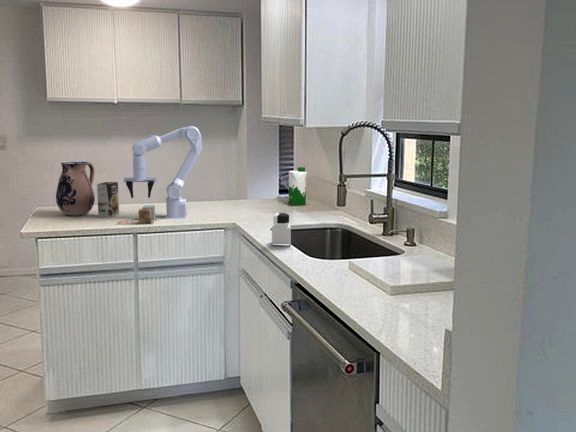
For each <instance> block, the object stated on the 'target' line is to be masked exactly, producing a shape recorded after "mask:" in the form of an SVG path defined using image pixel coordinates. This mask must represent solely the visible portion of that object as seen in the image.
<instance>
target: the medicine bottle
mask: <svg viewBox="0 0 576 432" xmlns="http://www.w3.org/2000/svg"><path fill="white" fill-rule="evenodd" d="M291 239H292V229H291V224H290V215H289V214H288V213H286V212H277V213H274V214H273V223H272V224H271V245H272V244H289V245H292V241H291Z"/></svg>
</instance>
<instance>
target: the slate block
mask: <svg viewBox="0 0 576 432" xmlns="http://www.w3.org/2000/svg"><path fill="white" fill-rule="evenodd" d="M141 209H151V211H152V220H154V219H155V218H156V205H152V204H151V205H150V204H149V205H143V206H142V208H141Z"/></svg>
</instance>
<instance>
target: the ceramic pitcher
mask: <svg viewBox="0 0 576 432" xmlns="http://www.w3.org/2000/svg"><path fill="white" fill-rule="evenodd" d="M60 165H61V168H62V169H61V174H60V176H59V179H58V183H57V188H56V192H55V201H56V205H57V208H58V209H59V210H60V211H61V213H63V214H65V215H66V216H74V217H76V216H79V217H80V216H85V215H86V214H87V213H89V212H90V211H91V210H92V208H94V205H95V201H96V198H95V197H96V196H95V192H94V189H93V183H94V179H95V167H94V165H93V163H92V162H90V161H69V162H64V161H63V162H61V163H60ZM86 166H88V168H89V172H90V173H89V176H88V173H87V169H86Z"/></svg>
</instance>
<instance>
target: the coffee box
mask: <svg viewBox="0 0 576 432" xmlns="http://www.w3.org/2000/svg"><path fill="white" fill-rule="evenodd" d="M96 189H97V192H96V193H97V211H98V213H97V214H98V215H97V217H98V218H105V219H106V218H107V219H111V218H114V217H117V216H120V203H119V200H120V199H119V182H118V181H105V182H100V183H97V184H96Z"/></svg>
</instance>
